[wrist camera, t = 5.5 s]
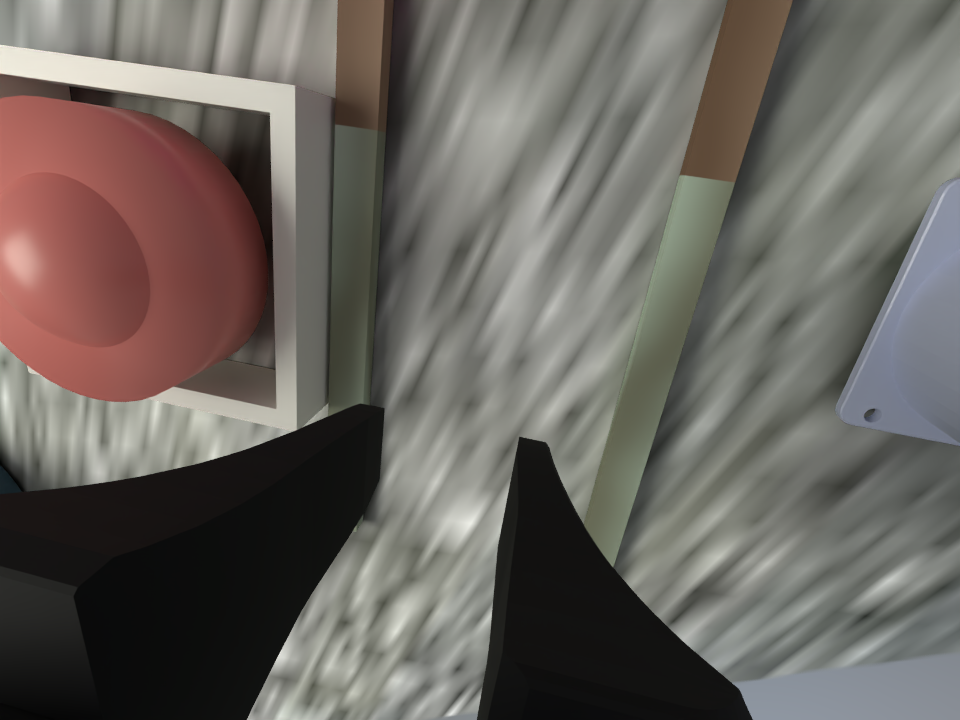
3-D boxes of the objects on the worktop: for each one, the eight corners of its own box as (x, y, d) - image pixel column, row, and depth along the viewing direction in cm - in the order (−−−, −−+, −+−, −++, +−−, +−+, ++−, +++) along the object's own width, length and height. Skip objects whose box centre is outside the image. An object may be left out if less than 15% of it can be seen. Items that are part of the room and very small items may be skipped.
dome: (290, 133, 16) (148, 112, 11) (292, 374, 20) (184, 450, 14) (57, 99, 17) (-181, 63, 12) (96, 333, 21) (-75, 390, 15)
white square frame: (340, 100, 17) (294, 85, 14) (332, 398, 21) (296, 431, 18) (46, 59, 18) (-49, 38, 15) (95, 348, 22) (28, 372, 20)
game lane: (1020, -761, 9) (1059, -843, 8) (604, 578, 22) (605, 592, 21) (370, -723, 11) (356, -790, 10) (333, 513, 23) (325, 524, 23)
